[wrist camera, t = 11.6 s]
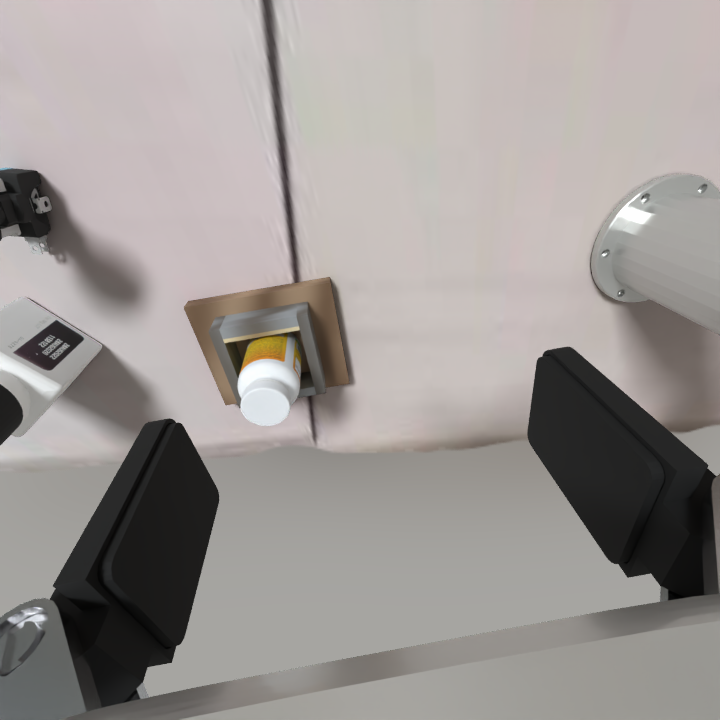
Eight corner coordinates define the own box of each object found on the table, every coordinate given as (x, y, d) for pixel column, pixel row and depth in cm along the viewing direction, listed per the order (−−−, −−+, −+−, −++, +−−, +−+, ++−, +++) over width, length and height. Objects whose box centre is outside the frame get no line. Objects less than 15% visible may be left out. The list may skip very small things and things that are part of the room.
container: (23, 293, 34) (-111, 371, 23) (105, 344, 38) (21, 433, 27) (-15, 345, 37) (-154, 439, 26) (66, 389, 40) (-26, 488, 29)
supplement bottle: (237, 350, 38) (216, 411, 30) (271, 314, 37) (259, 368, 28) (279, 379, 41) (270, 442, 32) (312, 347, 39) (312, 405, 31)
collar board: (329, 277, 37) (331, 294, 33) (348, 375, 43) (351, 400, 39) (188, 301, 36) (173, 321, 33) (228, 397, 43) (220, 423, 39)
